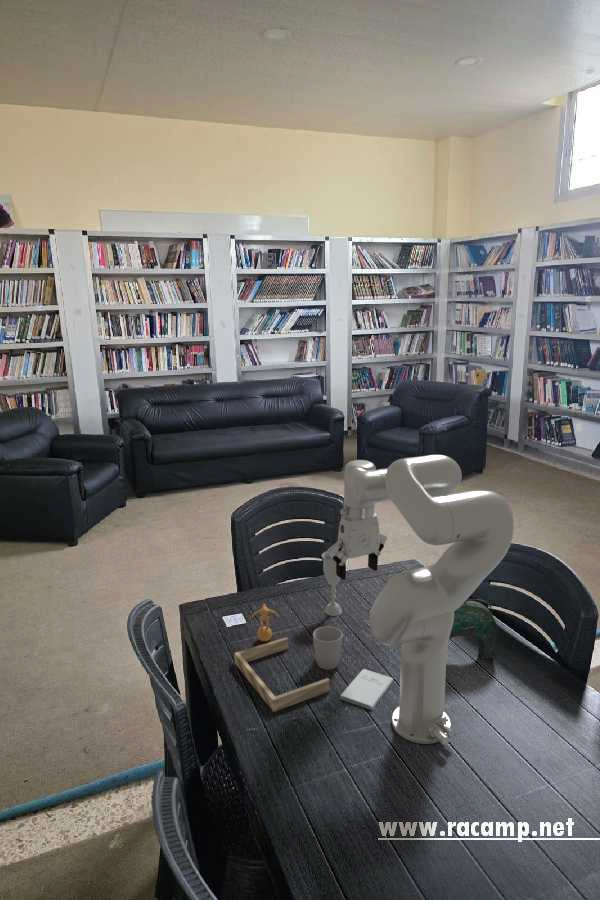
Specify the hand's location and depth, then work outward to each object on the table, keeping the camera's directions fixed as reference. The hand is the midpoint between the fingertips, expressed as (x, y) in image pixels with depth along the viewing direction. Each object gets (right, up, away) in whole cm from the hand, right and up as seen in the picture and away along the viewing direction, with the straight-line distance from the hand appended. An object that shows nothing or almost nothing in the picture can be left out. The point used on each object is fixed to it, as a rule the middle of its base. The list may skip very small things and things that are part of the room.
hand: (356, 573), depth 158 cm
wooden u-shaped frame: (-19, -25, -4) cm, 31 cm away
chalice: (-4, -17, +27) cm, 32 cm away
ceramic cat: (+26, -22, +3) cm, 35 cm away
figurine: (-24, -21, +11) cm, 34 cm away
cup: (-7, -23, +2) cm, 25 cm away
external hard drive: (+2, -27, -10) cm, 28 cm away
